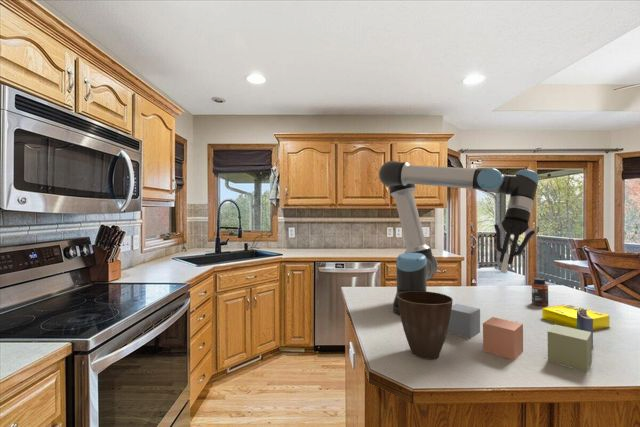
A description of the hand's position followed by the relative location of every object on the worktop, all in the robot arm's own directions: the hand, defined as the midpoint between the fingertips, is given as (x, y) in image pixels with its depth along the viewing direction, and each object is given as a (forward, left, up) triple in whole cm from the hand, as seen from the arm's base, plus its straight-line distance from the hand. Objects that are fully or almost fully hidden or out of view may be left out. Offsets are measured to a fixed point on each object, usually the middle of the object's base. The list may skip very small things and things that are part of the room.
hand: (503, 272), depth 108 cm
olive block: (+14, -23, -19) cm, 33 cm away
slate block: (-12, -13, -19) cm, 26 cm away
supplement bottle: (+16, +38, -19) cm, 46 cm away
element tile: (+23, +17, -20) cm, 35 cm away
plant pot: (-21, -36, -19) cm, 46 cm away
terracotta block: (-1, -23, -19) cm, 30 cm away
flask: (+21, -6, -19) cm, 29 cm away
